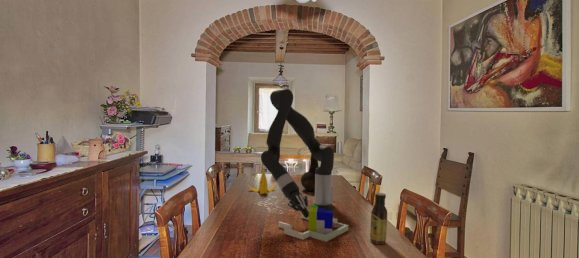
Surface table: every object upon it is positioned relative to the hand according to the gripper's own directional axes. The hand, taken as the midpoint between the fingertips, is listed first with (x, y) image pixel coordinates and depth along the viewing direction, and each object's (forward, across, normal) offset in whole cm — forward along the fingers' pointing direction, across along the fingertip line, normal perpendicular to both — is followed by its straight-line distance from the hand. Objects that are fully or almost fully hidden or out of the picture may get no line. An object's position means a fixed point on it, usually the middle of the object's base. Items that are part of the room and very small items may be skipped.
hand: (308, 216), depth 145 cm
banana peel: (-38, +36, +46) cm, 70 cm away
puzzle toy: (+9, -1, -2) cm, 9 cm away
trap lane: (+5, 0, +2) cm, 5 cm away
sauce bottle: (+26, +5, -19) cm, 32 cm away
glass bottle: (-24, +62, +31) cm, 73 cm away
